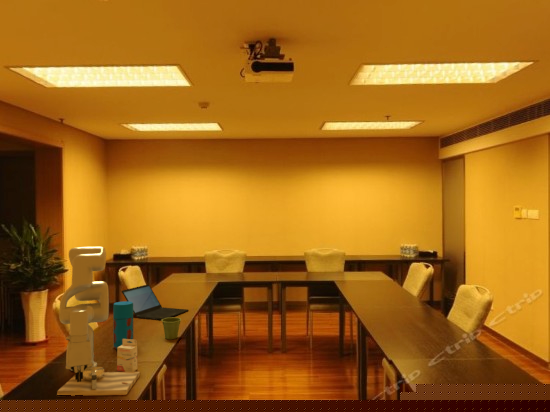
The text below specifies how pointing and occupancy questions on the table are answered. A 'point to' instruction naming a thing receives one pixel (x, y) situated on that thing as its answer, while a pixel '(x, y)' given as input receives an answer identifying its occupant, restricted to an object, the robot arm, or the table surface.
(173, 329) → the plant pot
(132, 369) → the ink cartridge box
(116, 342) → the thermos
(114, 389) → the base plate
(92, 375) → the small saucepan
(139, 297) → the laptop
